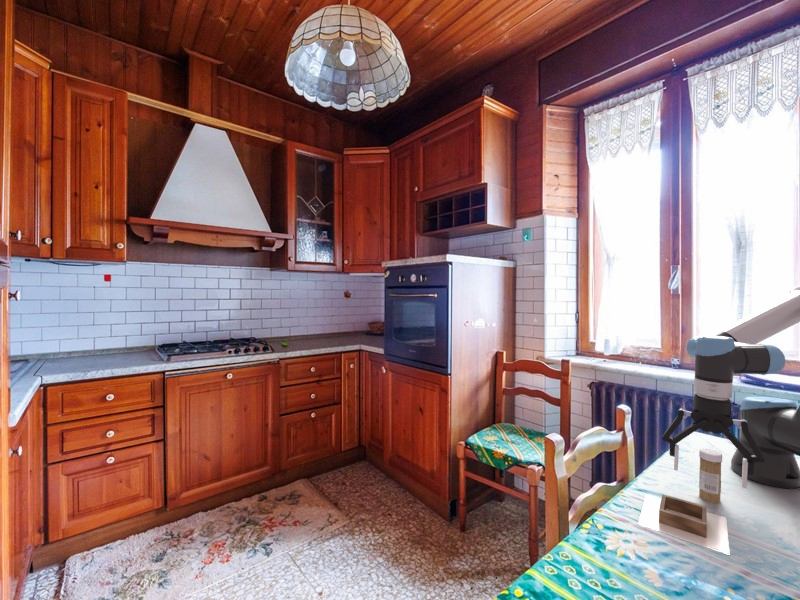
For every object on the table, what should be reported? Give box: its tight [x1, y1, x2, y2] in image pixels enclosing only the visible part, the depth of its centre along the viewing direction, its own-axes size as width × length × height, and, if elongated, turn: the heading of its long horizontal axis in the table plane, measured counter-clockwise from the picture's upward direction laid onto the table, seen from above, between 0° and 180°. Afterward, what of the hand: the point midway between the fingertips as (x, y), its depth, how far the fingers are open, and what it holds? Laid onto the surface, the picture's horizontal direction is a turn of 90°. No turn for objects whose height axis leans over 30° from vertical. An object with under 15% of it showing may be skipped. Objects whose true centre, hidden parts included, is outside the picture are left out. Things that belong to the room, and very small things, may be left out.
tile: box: [637, 494, 731, 556], centre depth 88 cm, size 16×16×1 cm
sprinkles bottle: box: [698, 447, 723, 504], centre depth 97 cm, size 5×5×14 cm
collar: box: [659, 493, 708, 538], centre depth 88 cm, size 9×9×3 cm
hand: (708, 477), depth 97 cm, fingers open, 13 cm apart
